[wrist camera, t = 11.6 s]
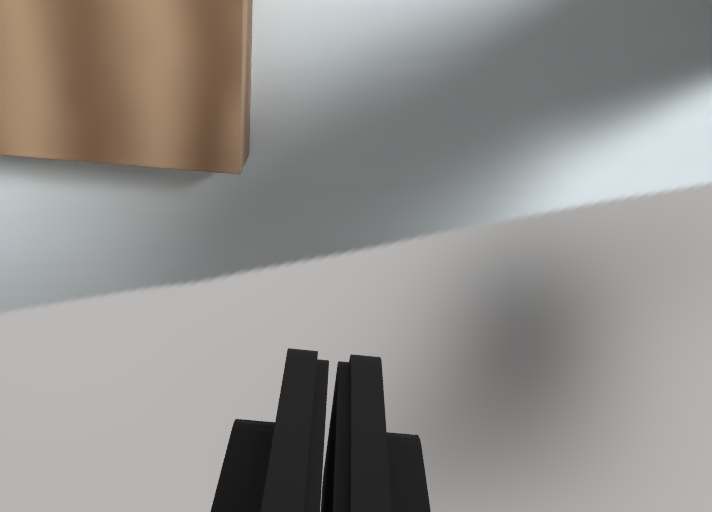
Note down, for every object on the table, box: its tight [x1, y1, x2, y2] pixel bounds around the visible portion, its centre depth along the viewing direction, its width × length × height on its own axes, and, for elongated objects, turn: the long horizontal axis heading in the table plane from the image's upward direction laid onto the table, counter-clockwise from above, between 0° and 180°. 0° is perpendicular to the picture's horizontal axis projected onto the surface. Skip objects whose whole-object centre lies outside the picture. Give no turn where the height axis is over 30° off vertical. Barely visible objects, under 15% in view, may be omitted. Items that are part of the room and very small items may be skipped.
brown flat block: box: [0, 0, 252, 174], centre depth 32 cm, size 16×14×4 cm
